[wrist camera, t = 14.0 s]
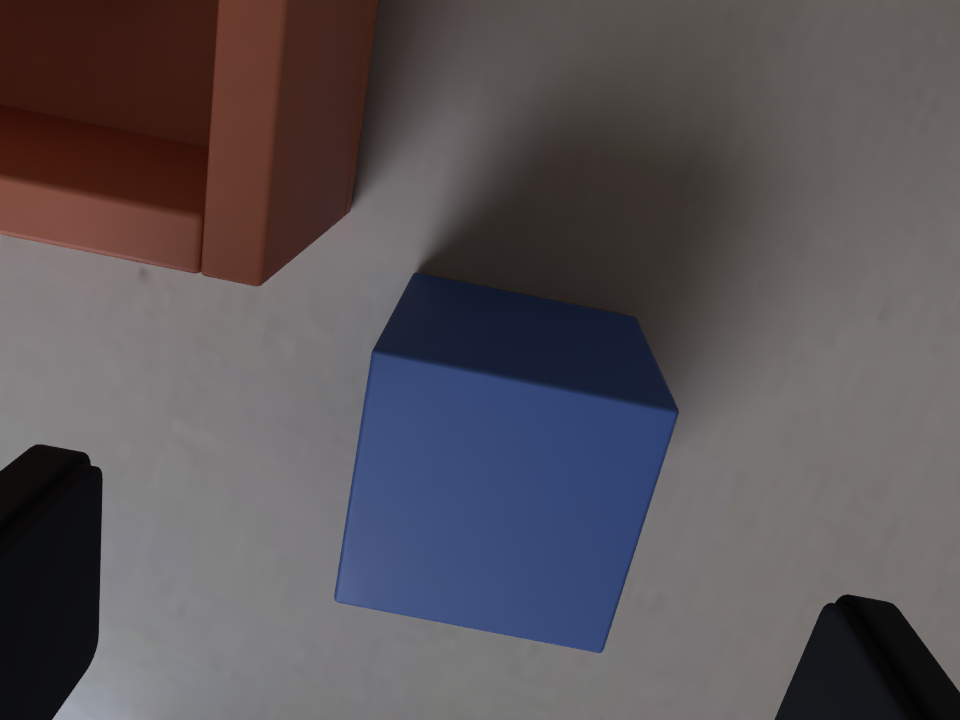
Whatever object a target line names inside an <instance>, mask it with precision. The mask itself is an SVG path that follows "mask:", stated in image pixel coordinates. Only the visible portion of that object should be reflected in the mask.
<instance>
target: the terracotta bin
mask: <svg viewBox="0 0 960 720" xmlns="http://www.w3.org/2000/svg"><path fill="white" fill-rule="evenodd" d="M378 1H379V0H0V234H2V235H7V236H12V237H17V238H22V239H27V240H32V241H37V242H42V243H47V244H52V245H57V246H62V247H67V248H71V249H76V250H81V251H86V252H91V253H96V254H101V255H106V256H111V257H116V258H121V259H126V260H131V261H136V262H141V263H146V264H151V265H156V266H161V267H166V268H171V269H175V270H180V271H185V272H190V273H199V272H201V273H202V274H203V275H205V276H208V277H213V278H218V279H223V280H228V281H233V282H238V283H242V284H247V285H252V286H261V285H262V284H263V283H264V282H266V281H267V280H268V279H269V278H270V277H272V276H273V275H274V274H275V273H276V272H278V271H279V270H280V269H281V268H282V267H284V266H285V265H286V264H287V263H289V262H290V261H291V260H292V259H293V258H295V257H296V256H297V255H298V254H299V253H301V252H302V251H303V250H304V249H305V248H307V247H308V246H309V245H310V244H312V243H313V242H314V241H315V240H316V239H318V238H319V237H320V236H321V235H322V234H324V233H325V232H326V231H327V230H328V229H330V228H331V227H332V226H333V225H335V224H336V223H337V222H338V221H339V220H341V219H342V218H343V217H344V216H345V215H346V214H348V213H349V212H350V210H351V203H352V195H353V188H354V180H355V173H356V165H357V158H358V151H359V143H360V136H361V128H362V121H363V113H364V106H365V98H366V91H367V83H368V76H369V69H370V61H371V54H372V46H373V39H374V31H375V24H376V16H377V9H378Z"/></svg>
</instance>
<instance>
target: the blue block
mask: <svg viewBox="0 0 960 720" xmlns="http://www.w3.org/2000/svg"><path fill="white" fill-rule="evenodd" d="M678 414H679V412H678V408H677V406H676V404H675V402H674V399H673V397H672V395H671V393H670V391H669V389H668V386H667V384H666V382H665V380H664V378H663V375H662V373H661V371H660V369H659V367H658V365H657V362H656V360H655V358H654V356H653V354H652V351H651V349H650V347H649V345H648V343H647V341H646V338H645V336H644V334H643V332H642V330H641V328H640V325H639V323H638V321H637V319H636V318H635V317H632V316H627V315H622V314H617V313H612V312H607V311H602V310H597V309H592V308H587V307H583V306H578V305H573V304H568V303H563V302H558V301H553V300H548V299H543V298H538V297H533V296H528V295H524V294H519V293H514V292H509V291H504V290H499V289H494V288H489V287H484V286H479V285H474V284H469V283H464V282H460V281H455V280H450V279H445V278H440V277H435V276H430V275H425V274H420V273H414V274H413V276H412V278H411V279H410V281H409V283H408V285H407V287H406V289H405V291H404V293H403V294H402V296H401V298H400V300H399V302H398V304H397V306H396V308H395V310H394V311H393V313H392V315H391V317H390V319H389V321H388V323H387V325H386V326H385V328H384V330H383V332H382V334H381V336H380V338H379V340H378V342H377V343H376V345H375V347H374V349H373V351H372V355H371V362H370V368H369V375H368V381H367V388H366V394H365V401H364V407H363V414H362V420H361V427H360V433H359V440H358V446H357V452H356V459H355V465H354V472H353V478H352V485H351V491H350V498H349V504H348V511H347V517H346V524H345V530H344V537H343V543H342V550H341V556H340V563H339V569H338V575H337V582H336V588H335V595H334V598H335V601H336V602H339V603H344V604H349V605H354V606H359V607H365V608H370V609H375V610H380V611H385V612H390V613H395V614H401V615H406V616H411V617H416V618H421V619H426V620H432V621H437V622H442V623H447V624H452V625H457V626H463V627H468V628H473V629H478V630H483V631H488V632H494V633H499V634H504V635H509V636H514V637H519V638H525V639H530V640H535V641H540V642H545V643H550V644H555V645H561V646H566V647H571V648H576V649H581V650H586V651H592V652H597V653H601V652H602V651H603V649H604V647H605V643H606V640H607V637H608V634H609V631H610V628H611V625H612V621H613V618H614V615H615V612H616V609H617V606H618V603H619V599H620V596H621V593H622V590H623V587H624V584H625V581H626V577H627V574H628V571H629V568H630V565H631V562H632V559H633V555H634V552H635V549H636V546H637V543H638V540H639V536H640V533H641V530H642V527H643V524H644V521H645V518H646V514H647V511H648V508H649V505H650V502H651V499H652V496H653V492H654V489H655V486H656V483H657V480H658V477H659V474H660V470H661V467H662V464H663V461H664V458H665V455H666V452H667V448H668V445H669V442H670V439H671V436H672V433H673V429H674V426H675V423H676V420H677V417H678Z"/></svg>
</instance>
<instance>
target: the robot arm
mask: <svg viewBox="0 0 960 720" xmlns="http://www.w3.org/2000/svg"><path fill="white" fill-rule="evenodd" d="M102 481H103V479H102V472H101V469H100V468H99V467H96V466H91V462H90V459H89V456H88V455H87V454H86V453H85V452H79V451H74V450H69V449H63V448H58V447H52V446H47V445H42V444H41V445H34V446H33V447H31V448H29V449H28V450H27V451H25V452H24V453H23V454H22V455H20V456H19V457H18V458H17V459H15V460H14V461H13V462H11V463H10V464H9V465H8V466H6V467H5V468H4V469H3V470H1V471H0V720H52V719H53V718H54V716H55V715H56V713H57V712H58V710H59V709H60V708H61V706H62V705H63V703H64V702H65V700H66V699H67V698H68V696H69V695H70V693H71V692H72V690H73V689H74V688H75V686H76V685H77V683H78V682H79V680H80V679H81V678H82V676H83V675H84V673H85V672H86V671H87V669H88V667H89V666H90V664H91V662H92V659H93V657H94V654H95V651H96V648H97V644H98V637H99V600H100V560H101V521H102ZM775 720H960V692H959V691H958V690H957V688H956V687H955V685H954V684H953V683H952V681H951V680H950V679H949V677H948V676H947V675H946V673H945V672H944V670H943V669H942V668H941V666H940V665H939V664H938V662H937V661H936V660H935V658H934V657H933V655H932V654H931V653H930V651H929V650H928V649H927V647H926V646H925V645H924V643H923V642H922V640H921V639H920V638H919V636H918V635H917V634H916V632H915V631H914V630H913V628H912V627H911V625H910V624H909V623H908V621H907V620H906V619H905V617H904V616H903V615H902V613H901V612H900V610H899V609H898V608H897V607H896V606H895V605H894V604H892V603H889V602H886V601H881V600H875V599H870V598H864V597H859V596H854V595H848V594H847V595H843V596H841V597H840V598H839V599H838V600H837V601H836V603H829V604H827V605H825V606H824V607H823V609H822V611H821V613H820V615H819V617H818V620H817V622H816V624H815V627H814V629H813V631H812V634H811V636H810V638H809V641H808V643H807V645H806V648H805V650H804V652H803V655H802V657H801V659H800V662H799V664H798V666H797V669H796V671H795V673H794V676H793V678H792V680H791V682H790V685H789V687H788V689H787V692H786V694H785V696H784V699H783V701H782V703H781V706H780V708H779V710H778V713H777V715H776V717H775Z"/></svg>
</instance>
